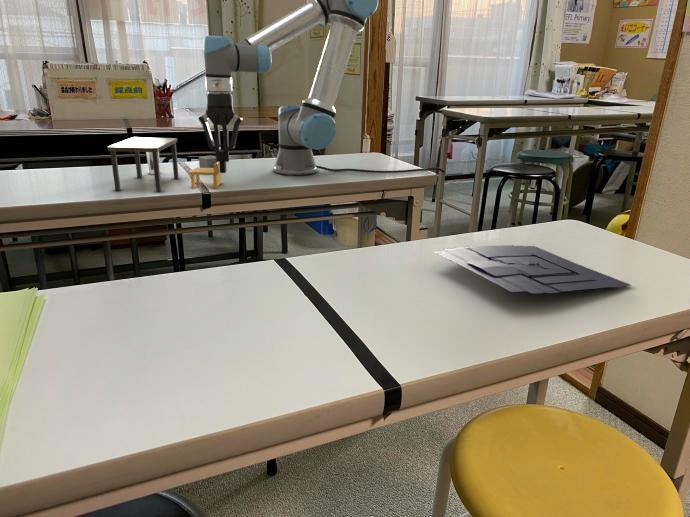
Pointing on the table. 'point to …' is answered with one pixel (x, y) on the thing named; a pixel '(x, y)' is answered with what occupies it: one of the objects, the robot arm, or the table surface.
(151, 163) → the milkshake
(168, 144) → the little table
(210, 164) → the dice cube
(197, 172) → the chair
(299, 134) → the robot arm
